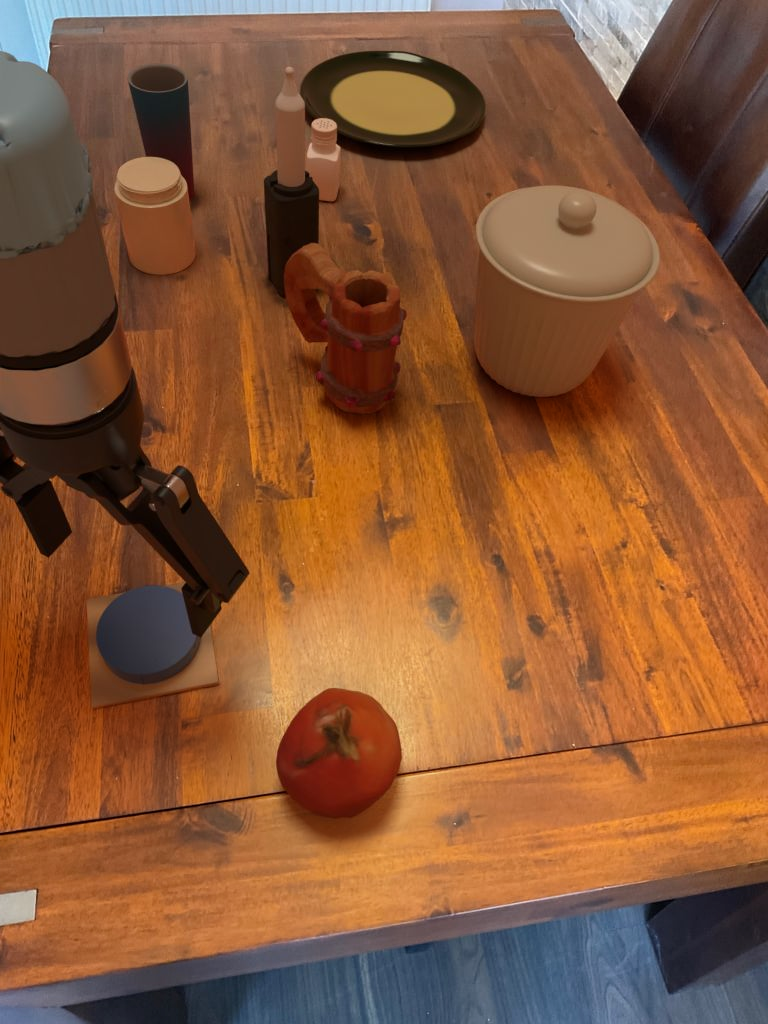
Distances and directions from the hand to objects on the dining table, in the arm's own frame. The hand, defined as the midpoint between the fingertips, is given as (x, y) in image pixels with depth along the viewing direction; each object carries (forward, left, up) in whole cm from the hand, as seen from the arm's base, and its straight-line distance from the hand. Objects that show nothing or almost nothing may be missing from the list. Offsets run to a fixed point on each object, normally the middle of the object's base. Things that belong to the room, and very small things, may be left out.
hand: (130, 581), depth 60 cm
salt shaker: (-20, +65, -10) cm, 69 cm away
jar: (-30, +43, -10) cm, 53 cm away
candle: (-14, +47, -10) cm, 50 cm away
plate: (-22, +90, -10) cm, 93 cm away
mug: (-1, +35, -10) cm, 36 cm away
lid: (0, 0, -8) cm, 8 cm away
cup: (-36, +54, -10) cm, 65 cm away
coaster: (0, 0, -10) cm, 10 cm away
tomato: (+19, -2, -10) cm, 22 cm away
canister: (+16, +49, -10) cm, 52 cm away
